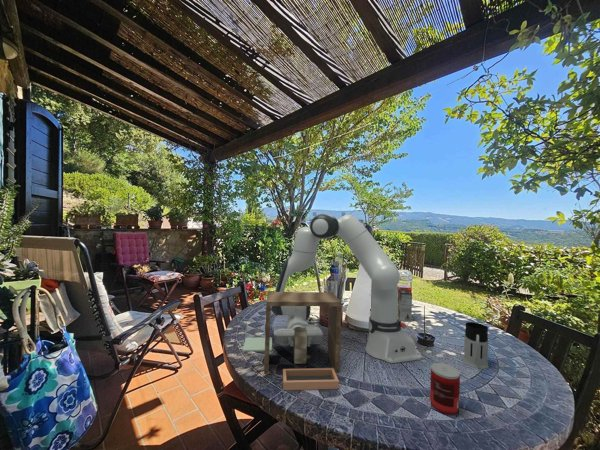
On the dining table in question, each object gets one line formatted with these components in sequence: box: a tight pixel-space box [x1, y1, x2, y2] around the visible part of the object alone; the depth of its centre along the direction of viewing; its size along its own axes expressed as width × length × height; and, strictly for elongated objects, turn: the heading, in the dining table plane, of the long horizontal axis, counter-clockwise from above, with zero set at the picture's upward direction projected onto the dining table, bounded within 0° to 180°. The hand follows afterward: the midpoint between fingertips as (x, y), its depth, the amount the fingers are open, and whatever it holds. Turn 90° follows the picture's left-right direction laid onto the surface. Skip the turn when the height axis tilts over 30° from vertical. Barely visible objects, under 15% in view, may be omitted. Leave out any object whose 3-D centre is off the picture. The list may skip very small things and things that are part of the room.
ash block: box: [293, 328, 308, 365], centre depth 104 cm, size 4×4×12 cm
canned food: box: [429, 362, 461, 415], centre depth 80 cm, size 8×8×11 cm
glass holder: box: [462, 321, 490, 370], centre depth 105 cm, size 9×14×15 cm, turn 149°
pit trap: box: [282, 367, 340, 391], centre depth 90 cm, size 18×8×2 cm, turn 95°
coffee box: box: [397, 289, 413, 323], centre depth 156 cm, size 9×6×16 cm
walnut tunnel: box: [263, 291, 342, 375], centre depth 102 cm, size 27×14×26 cm, turn 95°
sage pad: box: [242, 337, 273, 352], centre depth 116 cm, size 12×12×1 cm
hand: (300, 344), depth 103 cm, fingers closed on ash block, 4 cm apart
